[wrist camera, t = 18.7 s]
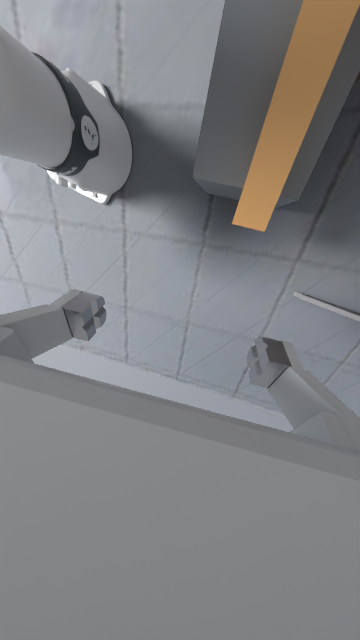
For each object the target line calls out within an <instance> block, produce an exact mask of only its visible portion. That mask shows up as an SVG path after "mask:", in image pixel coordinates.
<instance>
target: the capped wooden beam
mask: <svg viewBox="0 0 360 640" xmlns="http://www.w3.org/2000/svg"><path fill="white" fill-rule="evenodd" d="M359 5H360V0H303V3H302V6H301V10H300V13H299V16H298V19H297V22H296V25H295V28H294V31H293V35H292V38H291V41H290V44H289V47H288V50H287V53H286V56H285V60H284V63H283V66H282V69H281V72H280V75H279V78H278V81H277V84H276V88H275V91H274V94H273V97H272V100H271V103H270V106H269V109H268V113H267V116H266V119H265V122H264V125H263V128H262V131H261V134H260V138H259V141H258V144H257V147H256V150H255V153H254V156H253V159H252V162H251V166H250V169H249V172H248V175H247V178H246V181H245V184H244V187H243V191H242V194H241V197H240V200H239V203H238V206H237V209H236V212H235V216H234V219H233V222H232V224H235V225H239V226H243V227H247V228H251V229H255V230H259V231H263V232H265V229H266V227H267V225H268V222H269V220H270V218H271V215H272V213H273V210H274V208H275V206H276V203H277V201H278V198H279V196H280V194H281V191H282V189H283V186H284V184H285V182H286V179H287V177H288V174H289V172H290V170H291V167H292V165H293V163H294V160H295V158H296V155H297V153H298V151H299V148H300V146H301V143H302V141H303V139H304V136H305V134H306V131H307V129H308V127H309V124H310V122H311V120H312V117H313V115H314V112H315V110H316V108H317V105H318V103H319V100H320V98H321V96H322V93H323V91H324V88H325V86H326V84H327V81H328V79H329V77H330V74H331V72H332V69H333V67H334V65H335V62H336V60H337V57H338V55H339V53H340V50H341V48H342V45H343V43H344V41H345V38H346V36H347V33H348V31H349V29H350V26H351V24H352V22H353V19H354V17H355V14H356V12H357V10H358V7H359Z"/></svg>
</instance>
